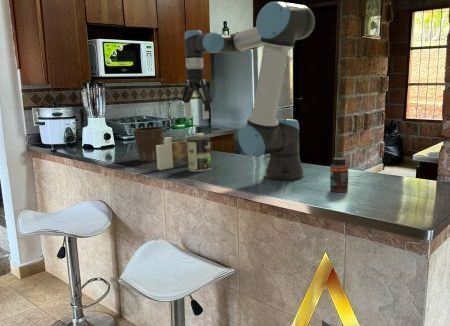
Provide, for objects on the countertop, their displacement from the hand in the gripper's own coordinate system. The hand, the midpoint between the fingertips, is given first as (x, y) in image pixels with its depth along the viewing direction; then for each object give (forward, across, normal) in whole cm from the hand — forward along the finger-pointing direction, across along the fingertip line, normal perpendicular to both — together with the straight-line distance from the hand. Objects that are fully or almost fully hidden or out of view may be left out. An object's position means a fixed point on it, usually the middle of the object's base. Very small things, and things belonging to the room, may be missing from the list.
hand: (197, 118), depth 184 cm
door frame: (+23, -13, 0) cm, 26 cm away
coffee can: (+23, 0, 0) cm, 23 cm away
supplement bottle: (+23, +66, +13) cm, 71 cm away
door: (+22, -13, +1) cm, 26 cm away
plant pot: (+23, -39, -4) cm, 45 cm away
